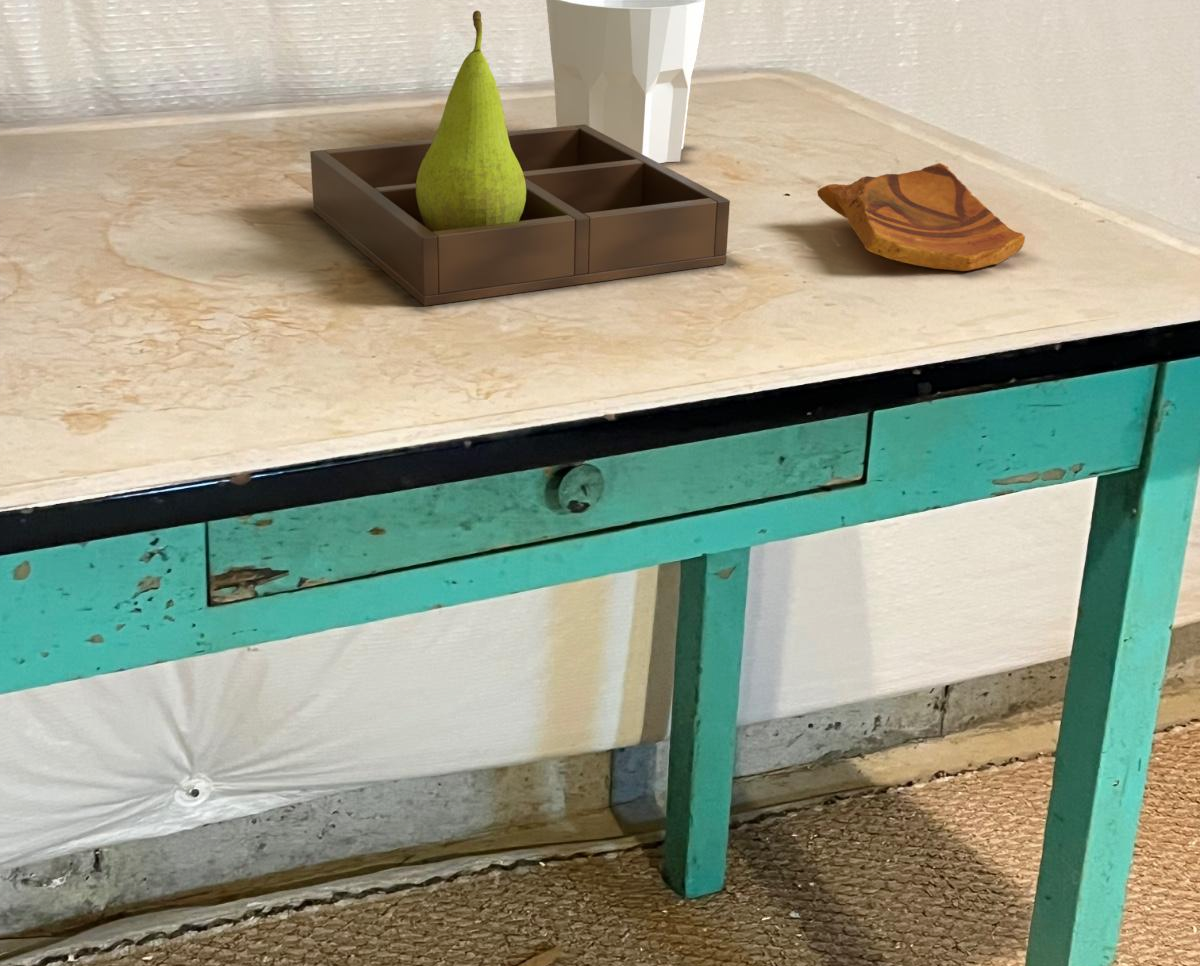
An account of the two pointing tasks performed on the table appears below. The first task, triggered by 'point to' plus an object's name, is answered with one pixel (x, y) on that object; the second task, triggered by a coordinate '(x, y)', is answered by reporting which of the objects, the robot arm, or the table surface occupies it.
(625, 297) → the table surface
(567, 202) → the grid
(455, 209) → the fruit
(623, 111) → the cup
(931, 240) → the pottery fragment
